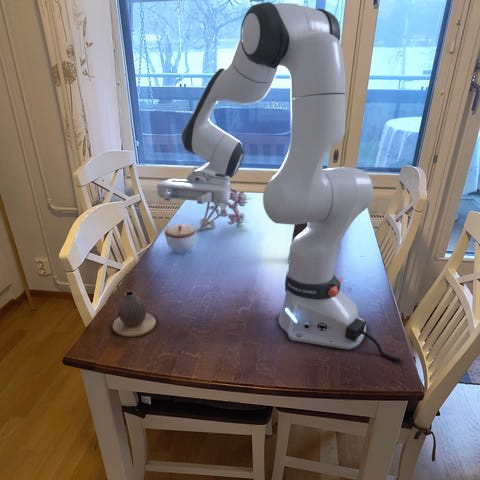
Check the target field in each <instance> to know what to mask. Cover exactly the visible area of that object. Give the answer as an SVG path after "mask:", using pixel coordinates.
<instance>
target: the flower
mask: <svg viewBox="0 0 480 480" xmlns="http://www.w3.org/2000/svg"><path fill="white" fill-rule="evenodd" d="M201 166H203V164H199V165H198V166H197V164H196V163H194V167H193V169H192V170H191V173H192V172H193V171H195V170H196V169H198V168H200V167H201ZM246 192H247V191H246V190H241V191H239V192H238V190H237V189H236V188H235V187H231V193H230V199H229V200H228V202H226V203H214V202H212V204H213V205H210V203H211V202H207V204H206V209H205V214H204V217H203V218H201V220H200V222H199V228H198V229H197V231H198V232H200V231H202V230H203V229H214V226H215V224H216V222H215V220H217V219H218V218H220V217H221V218H225V217H227V218H228V219H229V220H230V221H227V224H228V225H231V226H232V225H234V224H236V225H237V226H239V227H241V226H242V225H243V224H245V223H246V224H247V223H248V222H247V221H245V219H246V216H245V214H244V213H243V212H240V209H239V208H238V205H239V207H245V206H246V204H248V203H249V202H248V200H251V199H252V198H251V197H250V198H249V197H248V194H245V193H246ZM230 200H231V201H232V202H233V203H231V202H230ZM227 207H228V208H229V209H231V210H232V211H233V213H228V211H227ZM218 208H220V210H219V209H218ZM209 210H212V211H211V212H210V213H209ZM208 213H209V215H208ZM214 213H216V216H215V217H214V218H212V219H211V217H213V214H214Z"/></svg>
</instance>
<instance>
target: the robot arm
mask: <svg viewBox="0 0 480 480" xmlns="http://www.w3.org/2000/svg"><path fill="white" fill-rule="evenodd" d="M279 68H285V69H286V71H288V74H289V78H290V139H289V146H288V150H287V153H286V155H285V158H284V159H283V162H282V164H281V166H280V167H279V169H278V171H277V172H276V173H275V174H274V175H273V176H272V177H271V179H269V181H267V184H266V186H265V187H264V190H263V193H262V206H263V209H264V212H265V213H266V215H267V217H268V218H269V219H270V220H271V221H272V222H273V223H274V224H279V225H290V226H291V225H293V226H295V225H297V224H303V223H308V225H307V227H306V228H305V229H304V230H303V231H302V232H301V233H300V234H298V235H297V236H296V237H295V238H294V239H293V241H292V240H291V242H292V243H291V242H290V246H289V252H290V253H288V257H289V260H288V268H287V271H286V274H285V279H284V291H285V295H284V300H283V304H282V308H281V311H280V314H279V317H278V319H277V320H278V324H279V326H280V327H281V328H282V330H284V331H285V332H286V334H287V336H288V339H290V341H293V342H299V343H306V344H311V345H319V346H323V347H329V348H336V349H341V350H342V349H343V350H352V349H354V348H356V347H358V346H359V345H360V344H361V343H362V342H363V340H364V338H365V337H366V338H367V339H369V340H370V341H372V342H373V344H375V346H376V347H377V350H378V352H379V353H380V354H381V355H382V356H383V357H385V358H387V359H390V360H393V361H396V362H399V363H400V362H401V361H402V358H399V357H397V356H393V355H391V354H388V353H386V352H385V351H384V350H383V349H382V347H381V345H380V343H379V341H378V340H377V339H376V338H375V337H373V336H372V335H370V334H369V333H368V332H367V323H366V321H365V320H364V319H363V318H361V317H359V309H358V306H357V304H356V303H355V302H354V301H353V300H351V298H350V297H348V296H347V295H346V294H345V293H344V292H343V291H342V290H341V285H342V284H341V283H342V279H343V277H342V276H340V278H339V279H338V277H337V276H336V275H335V274H334V273H335V267H336V261H337V255H338V251H339V247H340V245H341V243H342V240H343V238H344V236H345V235H346V232H347V231H348V229H349V227H350V226H351V225H352V223H353V222H354V220H355V219H356V218H357V217H358V216H359V215H360V214H361V213H363V212H365V210H366V209H368V207H369V206H370V204H371V202H372V199H373V195H374V185H373V182H372V179H371V177H370V175H369V174H368V172H366V170H364V169H361V168H355V167H349V166H339V167H338V166H337V167H330V168H324V163H325V160H326V158H327V155H328V154H329V152H331V150H332V149H334V148H336V146H338V145H339V144H340V143H341V142H342V140H343V139H344V136H345V134H346V110H347V109H346V108H347V106H346V105H347V104H346V103H347V102H346V101H347V98H346V95H347V90H346V89H347V85H346V84H347V83H346V82H347V81H346V69H345V61H344V54H343V48H342V44H341V26H340V23H339V21H338V18H337V17H336V15H334V14H333V13H332V12H330V11H327V10H325V9H322V8H313V7H310V6H306V5H305V6H304V5H299V4H298V3H290V2H289V3H288V2H286V3H285V2H284V3H282V2H281V3H280V2H279V3H272V2H271V1H266V2H260V3H256V4H254V5H251V6H250V7H249V8H248V10H247V11H246V13H245V15H244V17H243V19H242V22H241V27H240V37H239V40H238V42H237V44H236V47H235V49H234V52H233V55H232V58H231V61H230V63H229V65H228V66H227V67H225V68H219V69H218V70H216V71H215V73H214V74H213V75H212V76H211V78H210V79H209V81H208V83H207V84H206V87H205V88H204V90H203V92H202V94H201V96H200V98H199V101H198V102H197V104H196V107H195V108H194V111H193V112H192V115H191V116H190V118H189V120H188V121H187V124H185V126H184V128H183V130H182V133H181V137H180V138H181V142H182V145H183V147H184V149H185V151H187V152H189V153H191V154H193V155H195V156H197V157H199V158H201V159H202V160H204V161H205V162H206V163H204V164H202V166H201V167H200V166H199V168H198V167H197V168H198V169H196V170H195V171H193V170H192V171H193V172H192V171H191V172H190V173H189V174H188V175H187V177H186V179H180V178H168V179H165V180H162V181H160V182H158V183H157V185H156V191H157V196H158V197H159V198H162V199H163V200H164V201H167V202H168V201H169V202H170V201H172V200H173V199H174V200H185V201H195V202H196V204H200V205H204V204H205V203H208V202H210V203H213V202H214V203H226V202H229V201H230V200H229V199H230V193H231V192H232V191H231V188H232V187H231V186H232V185H231V178H233V177H234V176H235V175H236V173H238V170H239V169H240V167H241V165H242V162H243V160H244V156H245V152H244V146H243V143H242V141H240V140H238V139H237V138H235V137H234V136H232V135H231V134H229V133H227V132H225V130H222V129H221V128H220V127H218V126H216V125H214V123H213V122H212V121H211V120H210V117H211V115H212V114H213V111H214V110H215V108H216V105H217V104H218V103H219V102H228V103H233V104H237V105H244V106H245V105H246V106H247V105H253V104H256V103H259V102H261V101H262V100H263V99H265V97H266V96H267V94H268V93H269V91H270V89H271V88H272V85H273V83H274V81H275V79H276V76H277V74H278V71H279ZM214 203H213V204H214Z"/></svg>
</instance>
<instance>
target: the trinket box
mask: <svg viewBox="0 0 480 480" xmlns="http://www.w3.org/2000/svg"><path fill="white" fill-rule="evenodd" d="M196 234H197V230H196V227H195V226H194V225H191V224H187V223H177V224H171V225H169V226H167V227H165V228H164V236H165V241H166V244H167V246H168V247H169V249H170V250H171V251H172V252H173V253H175V254H181V255H183V254H188V253H189V252H190V251H191V250H192V249H193V247H194V246H195V243H196V238H197V237H196V236H197V235H196Z"/></svg>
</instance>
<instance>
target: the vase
mask: <svg viewBox="0 0 480 480" xmlns="http://www.w3.org/2000/svg"><path fill="white" fill-rule="evenodd" d="M117 313H118V317H120V319H121V321H122V322H123V323H124V324H125V325H127V326H130V327H134V326H138V325H140V324H141V323H142V322H143V321H144V319H145V316H146V313H147V308H146V305H145V303H144V301H143V300H142V298H141V297H139V296H137V294H136V293H135V292H134V291H132V290H128V291H125V292H124V293H123V297H121V299H120V301H119V303H118V306H117Z"/></svg>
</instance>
